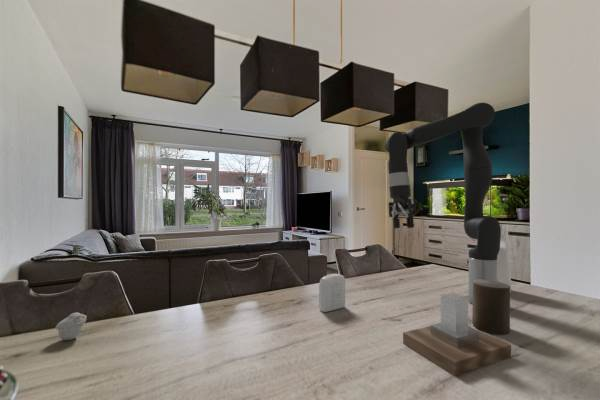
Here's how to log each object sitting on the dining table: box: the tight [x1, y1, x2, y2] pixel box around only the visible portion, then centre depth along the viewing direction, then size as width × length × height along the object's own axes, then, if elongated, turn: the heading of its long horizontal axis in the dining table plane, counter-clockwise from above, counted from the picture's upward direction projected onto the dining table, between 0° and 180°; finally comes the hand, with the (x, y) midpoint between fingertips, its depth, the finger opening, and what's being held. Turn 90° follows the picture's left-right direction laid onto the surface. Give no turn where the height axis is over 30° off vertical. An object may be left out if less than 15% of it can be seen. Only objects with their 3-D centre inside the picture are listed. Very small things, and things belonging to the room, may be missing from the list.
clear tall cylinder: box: [497, 230, 512, 293], centre depth 127 cm, size 12×12×26 cm
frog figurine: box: [55, 312, 88, 341], centre depth 82 cm, size 6×7×7 cm
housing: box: [430, 292, 479, 348], centre depth 77 cm, size 8×8×11 cm
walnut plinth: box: [402, 325, 512, 376], centre depth 77 cm, size 20×16×3 cm
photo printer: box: [318, 273, 346, 313], centre depth 105 cm, size 10×4×12 cm, turn 123°
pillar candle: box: [471, 279, 511, 336], centre depth 90 cm, size 10×10×15 cm
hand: (403, 227), depth 110 cm, fingers open, 8 cm apart
